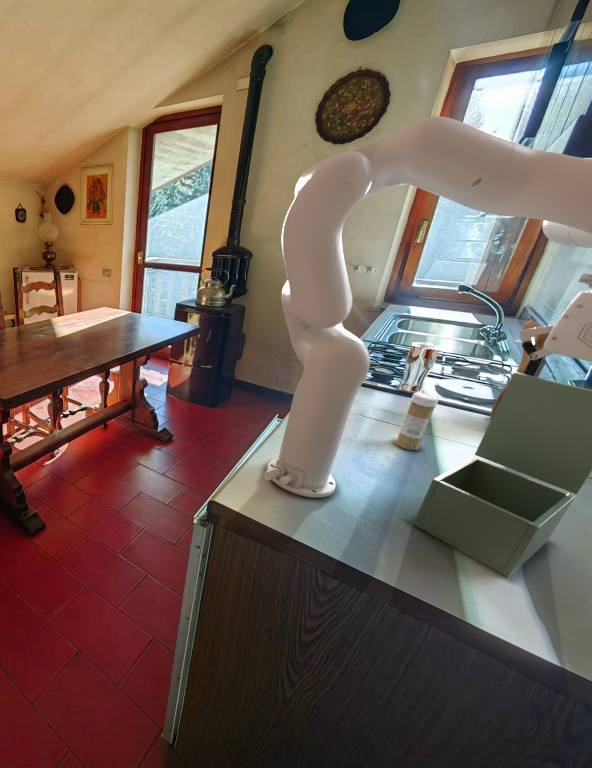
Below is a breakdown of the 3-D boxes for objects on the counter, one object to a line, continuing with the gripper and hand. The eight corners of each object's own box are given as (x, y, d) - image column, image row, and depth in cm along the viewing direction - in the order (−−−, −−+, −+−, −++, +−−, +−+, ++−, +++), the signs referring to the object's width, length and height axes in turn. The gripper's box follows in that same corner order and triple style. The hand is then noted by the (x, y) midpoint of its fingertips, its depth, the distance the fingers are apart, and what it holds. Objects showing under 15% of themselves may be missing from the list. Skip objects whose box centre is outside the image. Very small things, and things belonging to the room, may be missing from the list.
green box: (508, 577, 59) (538, 527, 55) (412, 524, 69) (432, 478, 66) (546, 542, 66) (575, 496, 62) (453, 498, 76) (474, 456, 72)
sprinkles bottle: (421, 447, 94) (442, 396, 88) (413, 452, 91) (435, 401, 86) (398, 439, 97) (418, 389, 92) (391, 444, 95) (410, 394, 90)
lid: (635, 401, 55) (645, 394, 58) (513, 372, 66) (526, 367, 68) (576, 494, 62) (587, 484, 64) (474, 454, 72) (487, 447, 74)
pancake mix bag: (480, 434, 100) (530, 328, 89) (482, 411, 112) (526, 316, 102) (517, 444, 96) (575, 334, 85) (515, 419, 108) (565, 320, 97)
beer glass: (390, 386, 129) (406, 343, 123) (405, 384, 131) (421, 341, 125) (412, 395, 122) (430, 349, 117) (428, 392, 124) (446, 348, 119)
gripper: (539, 278, 62) (491, 377, 69) (736, 298, 48) (652, 420, 55) (555, 277, 66) (508, 371, 72) (745, 295, 52) (664, 410, 58)
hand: (570, 392), depth 64 cm, fingers open, 9 cm apart
